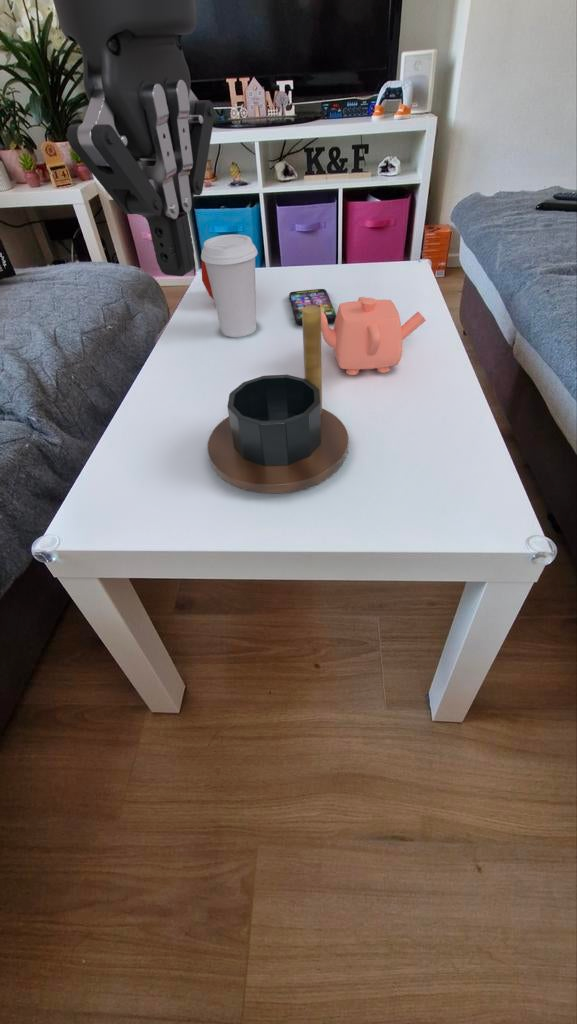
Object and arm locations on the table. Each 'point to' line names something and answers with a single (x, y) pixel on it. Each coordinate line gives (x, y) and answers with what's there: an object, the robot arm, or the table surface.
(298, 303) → the smartphone
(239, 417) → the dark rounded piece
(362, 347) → the teapot
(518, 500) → the table surface
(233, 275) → the coffee cup
